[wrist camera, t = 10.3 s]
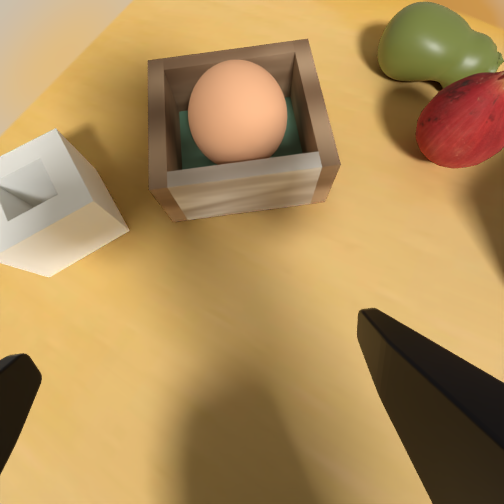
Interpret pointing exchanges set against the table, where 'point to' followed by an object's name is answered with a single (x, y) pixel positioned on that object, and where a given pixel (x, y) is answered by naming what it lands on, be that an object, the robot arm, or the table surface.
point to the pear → (434, 46)
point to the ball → (237, 113)
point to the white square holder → (53, 206)
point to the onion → (464, 121)
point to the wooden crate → (247, 172)
